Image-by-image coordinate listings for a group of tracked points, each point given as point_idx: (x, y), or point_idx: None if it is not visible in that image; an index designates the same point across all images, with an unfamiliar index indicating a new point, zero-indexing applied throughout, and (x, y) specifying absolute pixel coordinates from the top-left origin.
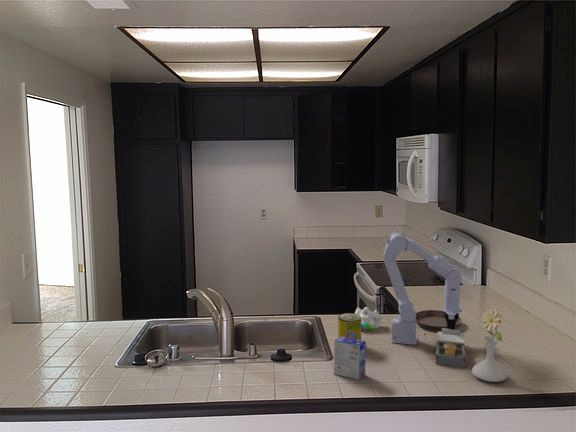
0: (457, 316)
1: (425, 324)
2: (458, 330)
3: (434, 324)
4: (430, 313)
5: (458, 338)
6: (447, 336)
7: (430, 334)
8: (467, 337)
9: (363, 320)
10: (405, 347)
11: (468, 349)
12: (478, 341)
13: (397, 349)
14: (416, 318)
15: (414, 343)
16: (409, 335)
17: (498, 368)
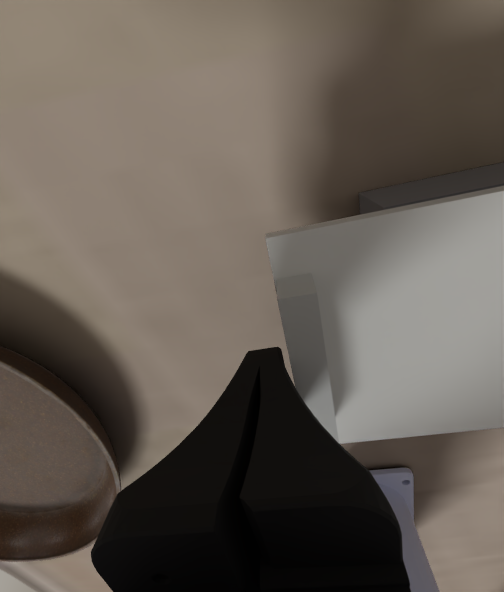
0: (351, 523)
1: None
2: (308, 314)
3: (14, 443)
4: None
5: (440, 268)
6: (409, 368)
7: (185, 432)
8: (78, 217)
9: None
10: (456, 494)
11: (362, 150)
12: (108, 100)
13: (497, 515)
14: (21, 526)
15: (407, 478)
16: (421, 548)
17: None
